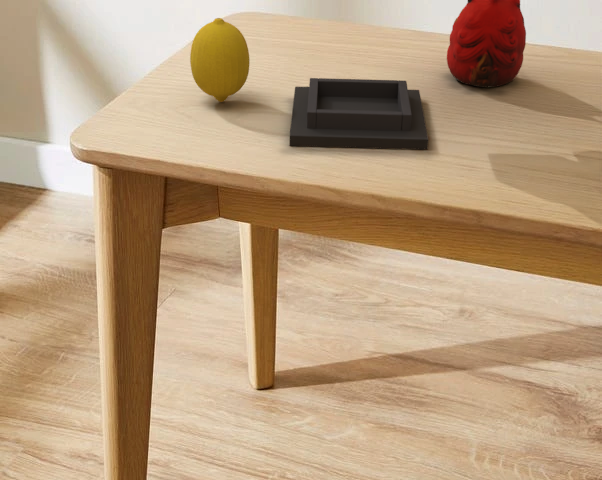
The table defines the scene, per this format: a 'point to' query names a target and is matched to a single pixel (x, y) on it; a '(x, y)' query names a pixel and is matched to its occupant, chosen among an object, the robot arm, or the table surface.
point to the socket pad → (358, 115)
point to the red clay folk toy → (487, 43)
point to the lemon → (219, 59)
